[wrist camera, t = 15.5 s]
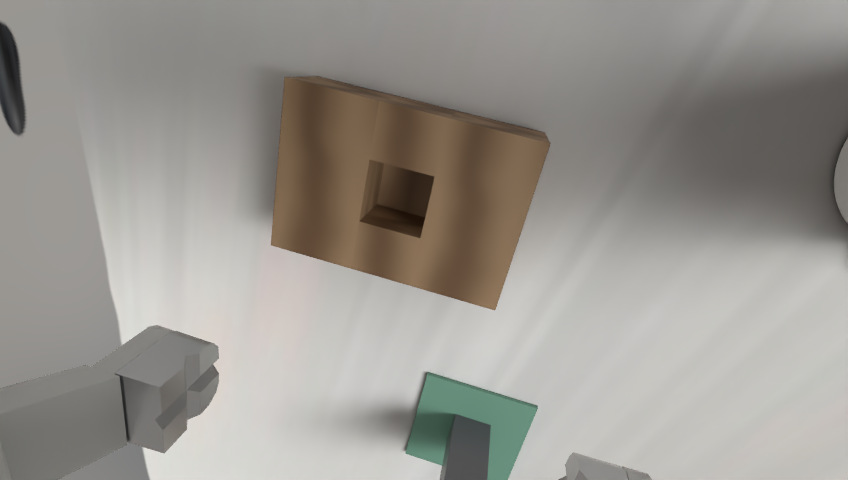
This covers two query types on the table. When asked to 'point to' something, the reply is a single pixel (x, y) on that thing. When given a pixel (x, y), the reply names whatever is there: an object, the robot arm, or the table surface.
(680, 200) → the table surface
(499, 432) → the mat
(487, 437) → the plug
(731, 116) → the table surface
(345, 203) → the socket block
